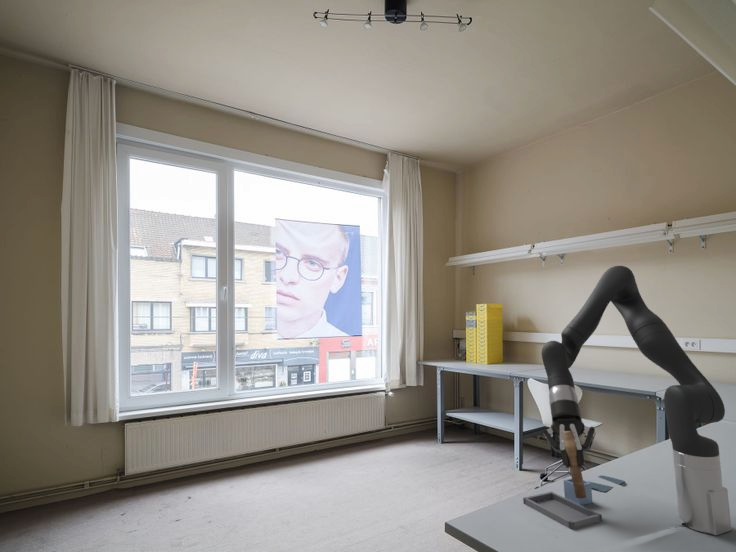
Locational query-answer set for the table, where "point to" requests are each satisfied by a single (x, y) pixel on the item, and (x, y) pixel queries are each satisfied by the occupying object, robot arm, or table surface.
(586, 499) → the cup
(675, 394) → the robot arm
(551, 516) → the tray
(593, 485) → the smartphone
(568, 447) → the dowel
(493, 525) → the table surface
